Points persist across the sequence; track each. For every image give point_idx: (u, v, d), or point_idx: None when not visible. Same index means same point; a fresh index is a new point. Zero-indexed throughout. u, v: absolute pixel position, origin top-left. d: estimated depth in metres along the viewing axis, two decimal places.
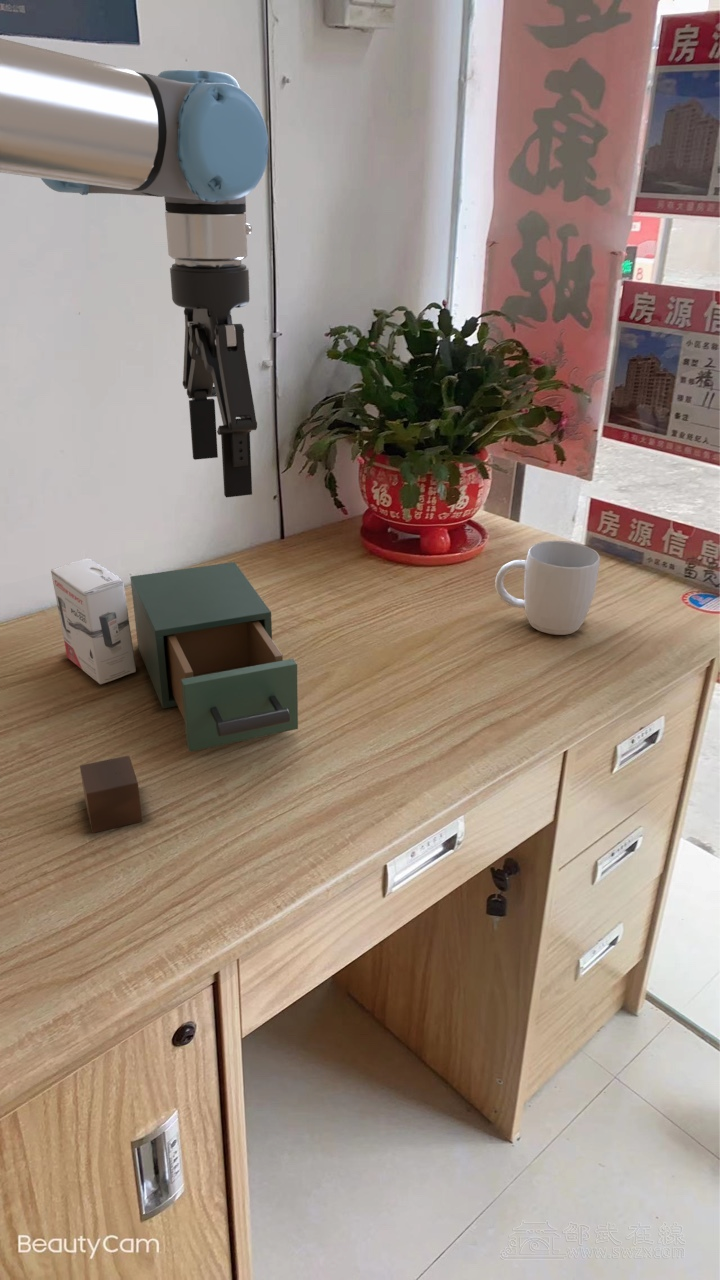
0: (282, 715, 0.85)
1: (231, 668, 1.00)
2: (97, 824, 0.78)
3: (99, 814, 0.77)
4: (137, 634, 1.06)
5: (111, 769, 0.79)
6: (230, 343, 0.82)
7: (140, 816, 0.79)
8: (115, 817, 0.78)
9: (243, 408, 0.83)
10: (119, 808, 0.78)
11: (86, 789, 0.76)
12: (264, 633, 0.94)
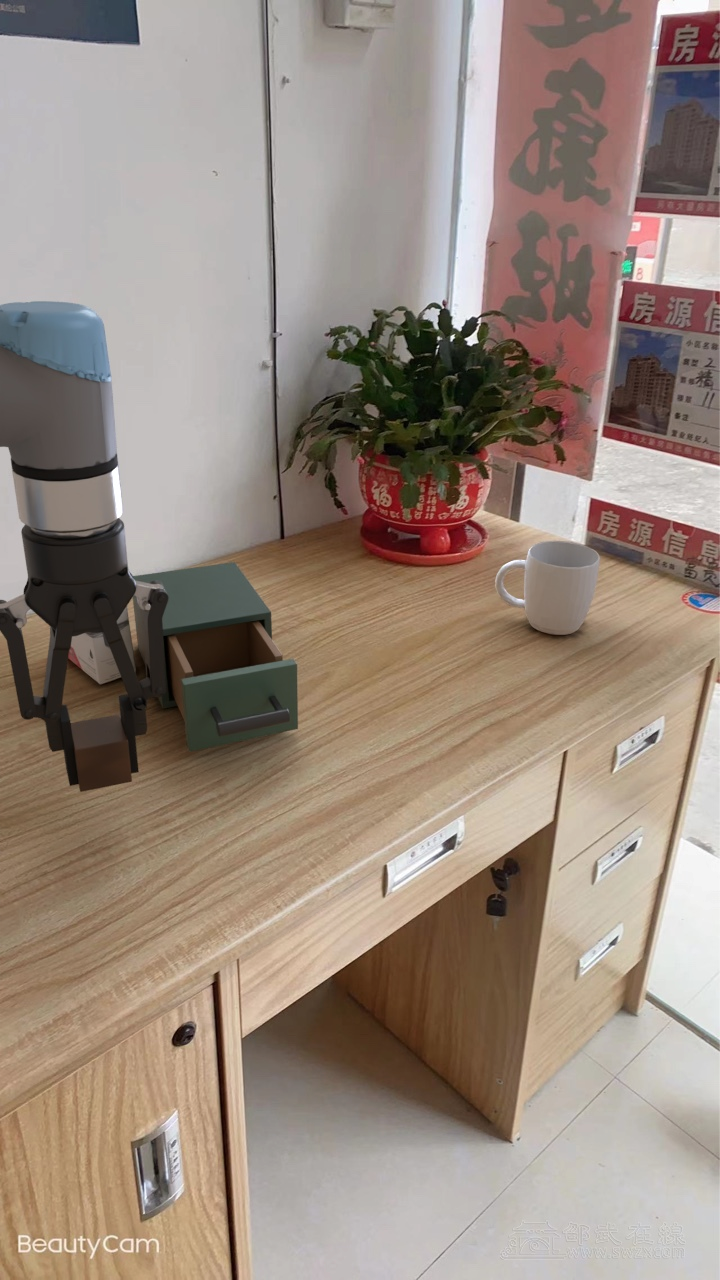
0: (282, 715, 0.85)
1: (231, 668, 1.00)
2: (85, 782, 0.75)
3: (87, 772, 0.75)
4: (137, 634, 1.06)
5: (100, 727, 0.77)
6: None
7: (130, 776, 0.77)
8: (104, 776, 0.76)
9: None
10: (108, 767, 0.75)
11: (74, 746, 0.74)
12: (264, 633, 0.94)
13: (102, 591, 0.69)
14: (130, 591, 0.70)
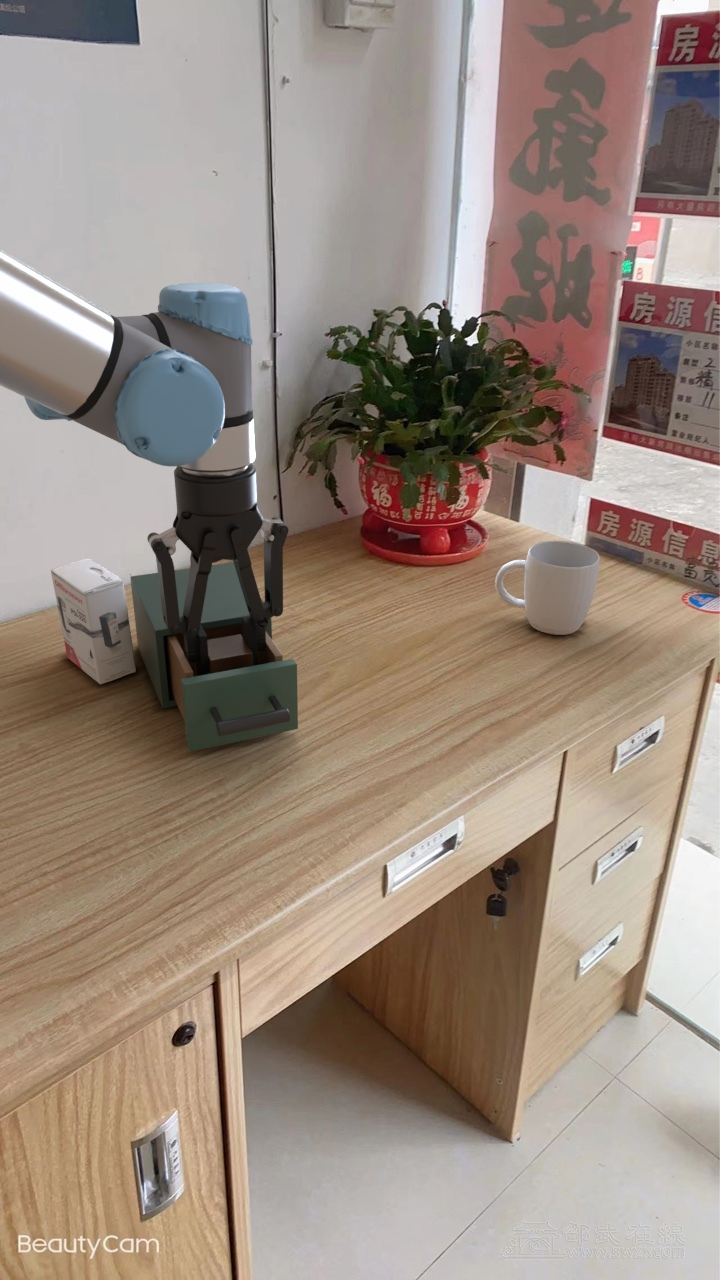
0: (282, 715, 0.85)
1: None
2: None
3: None
4: (137, 634, 1.06)
5: (227, 643, 0.91)
6: None
7: None
8: None
9: None
10: None
11: (209, 657, 0.88)
12: None
13: (236, 524, 0.84)
14: (258, 524, 0.85)
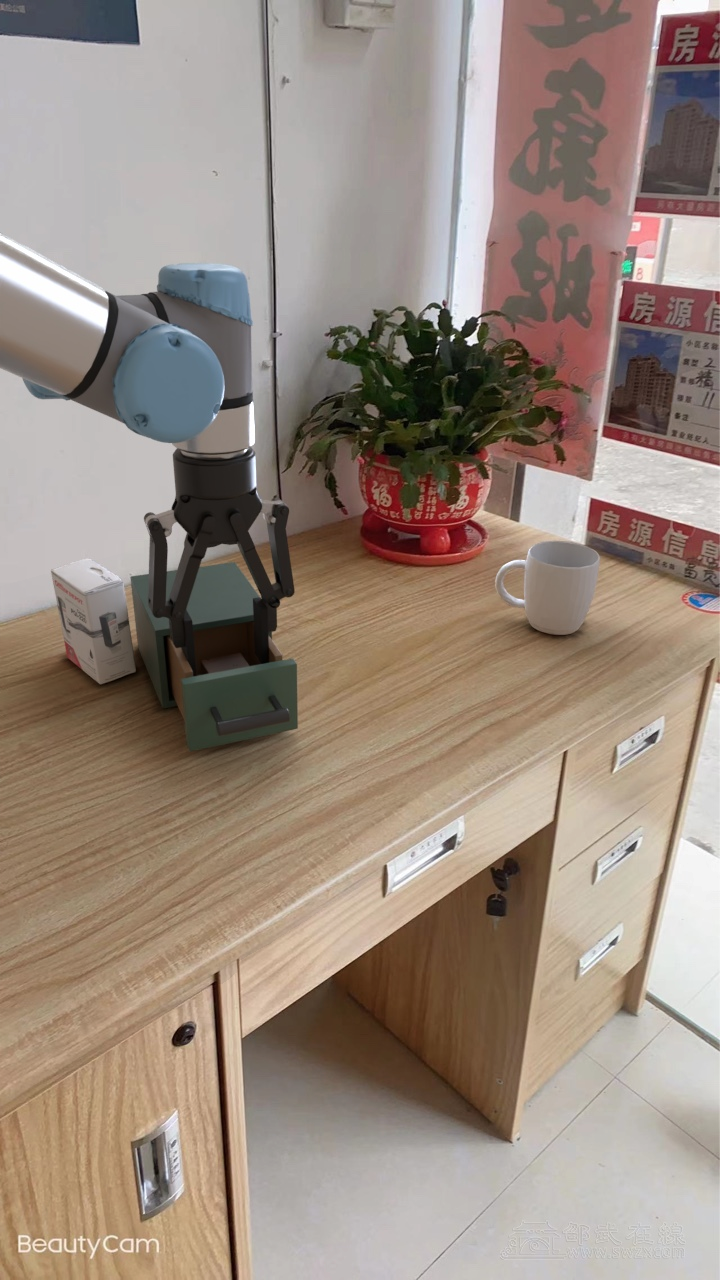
0: (282, 715, 0.85)
1: None
2: None
3: None
4: (137, 634, 1.06)
5: (228, 662, 0.92)
6: None
7: None
8: None
9: None
10: None
11: None
12: None
13: (234, 508, 0.83)
14: (258, 508, 0.84)
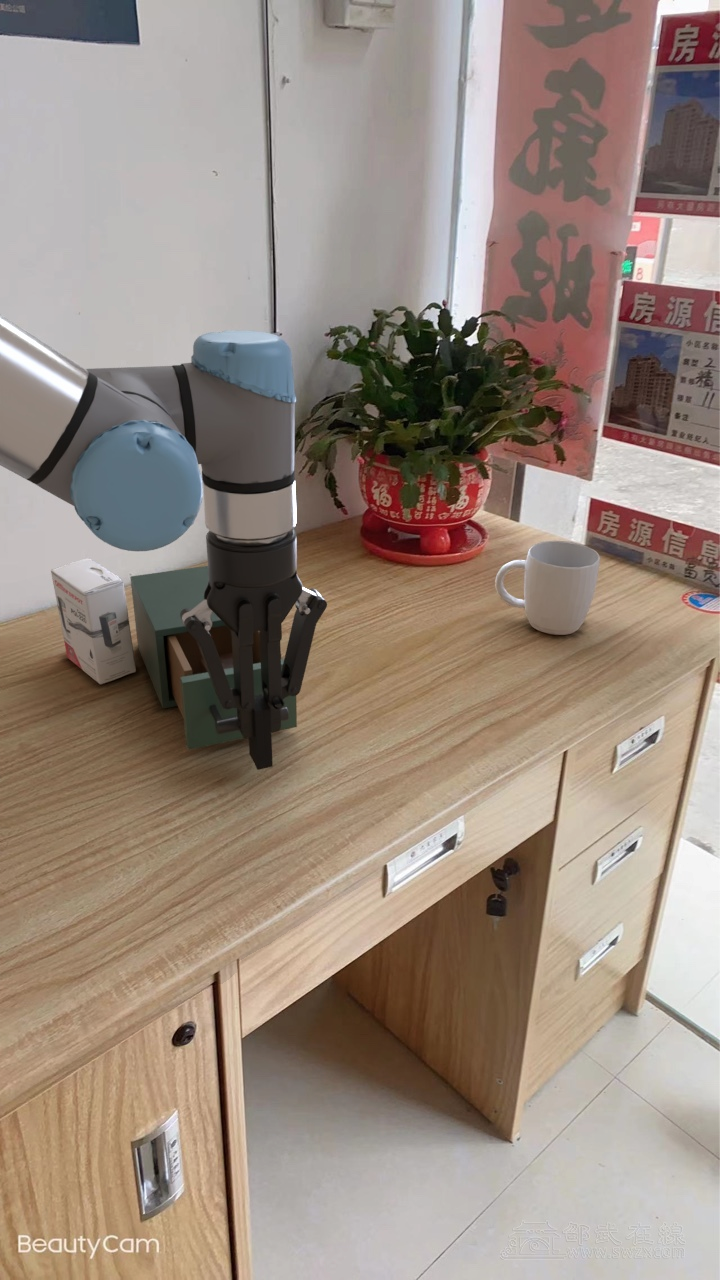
0: (281, 713, 0.85)
1: None
2: None
3: None
4: (137, 634, 1.06)
5: (227, 661, 0.92)
6: None
7: None
8: None
9: None
10: None
11: None
12: None
13: (276, 593, 0.76)
14: (297, 594, 0.77)
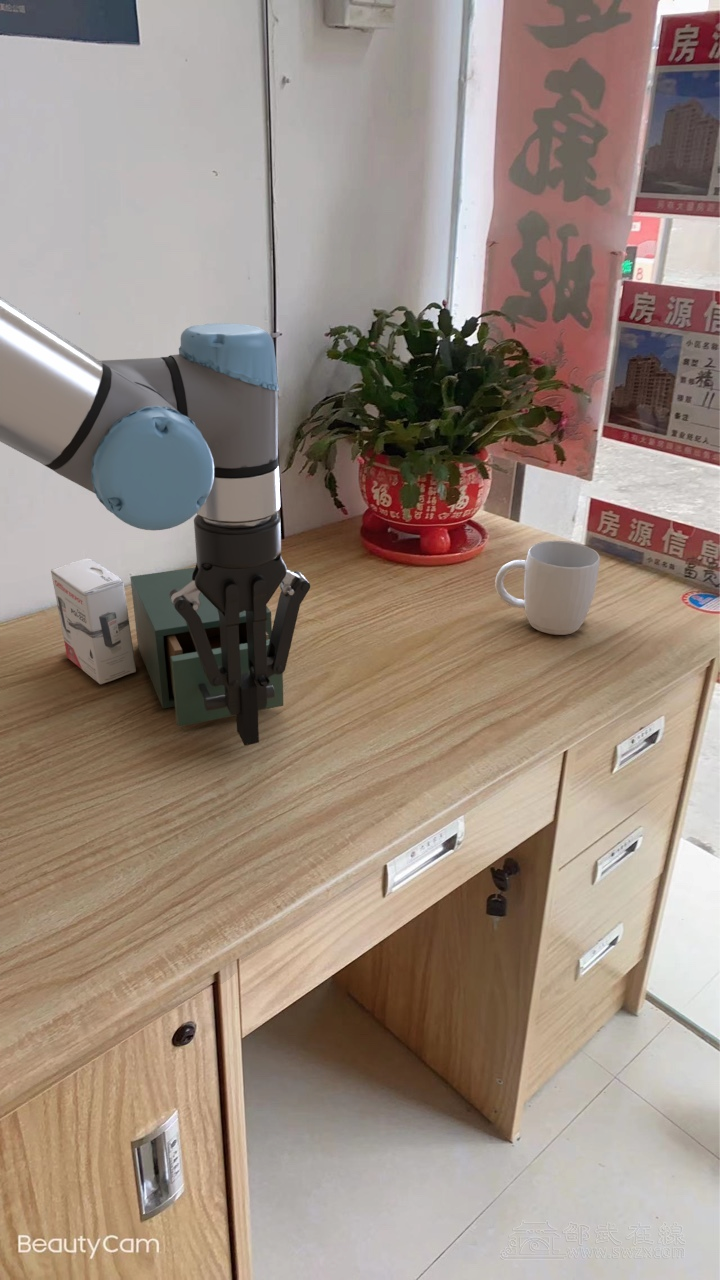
0: (267, 691, 0.89)
1: None
2: None
3: None
4: (137, 634, 1.06)
5: (216, 642, 0.96)
6: None
7: None
8: None
9: None
10: None
11: None
12: None
13: (261, 575, 0.79)
14: (281, 575, 0.80)
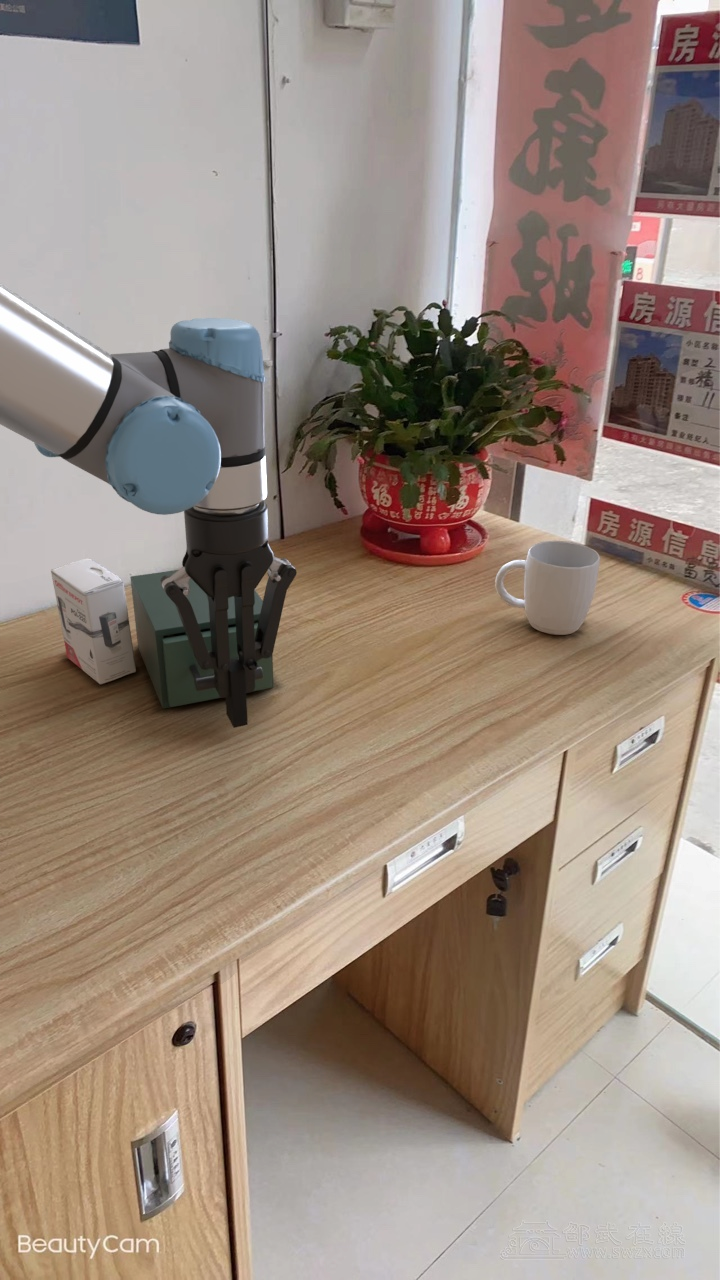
0: (255, 672, 0.92)
1: None
2: None
3: None
4: (137, 634, 1.06)
5: None
6: None
7: None
8: None
9: None
10: None
11: None
12: None
13: (249, 561, 0.82)
14: (269, 562, 0.83)
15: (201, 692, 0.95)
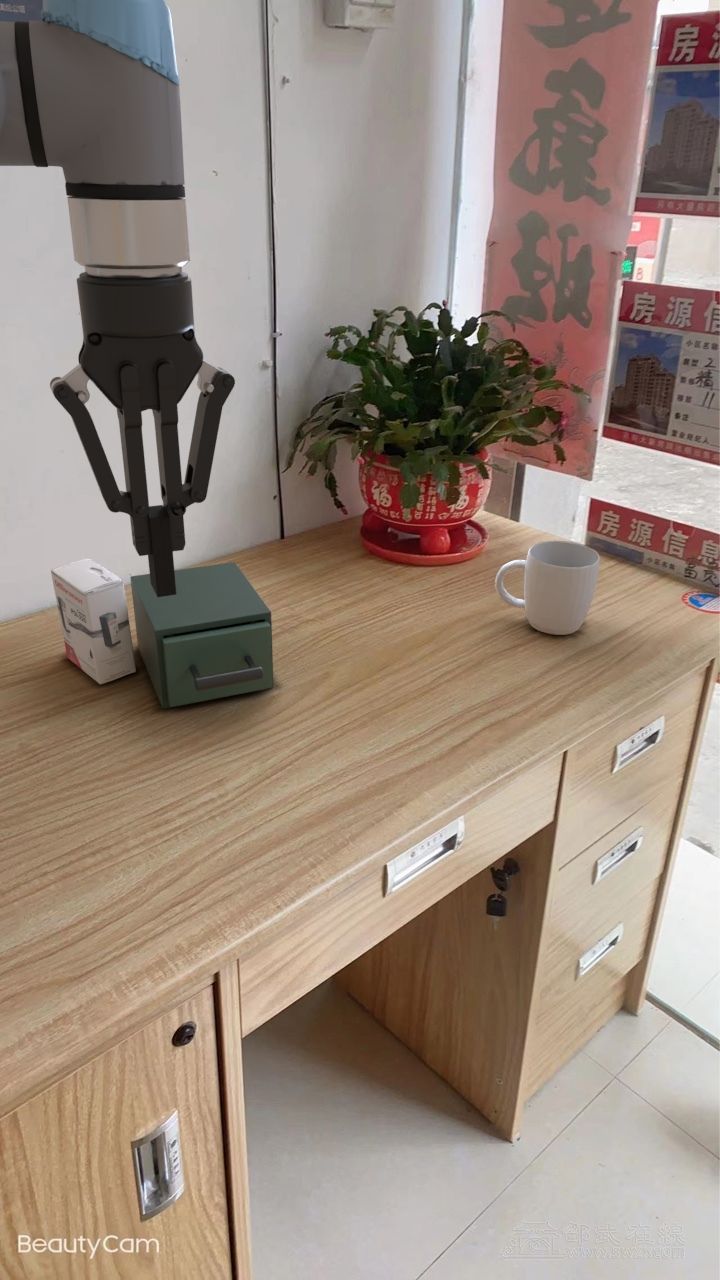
0: (255, 672, 0.92)
1: None
2: None
3: None
4: (137, 634, 1.06)
5: None
6: None
7: None
8: None
9: None
10: None
11: None
12: None
13: (169, 359, 0.61)
14: (196, 363, 0.62)
15: (201, 692, 0.95)
